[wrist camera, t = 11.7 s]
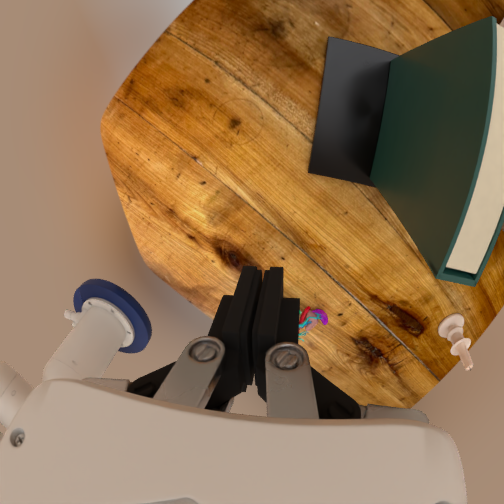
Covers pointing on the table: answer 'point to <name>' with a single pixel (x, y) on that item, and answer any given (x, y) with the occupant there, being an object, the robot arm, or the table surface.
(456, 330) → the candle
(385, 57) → the book stand
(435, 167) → the book
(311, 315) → the anatomy model
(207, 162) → the table surface
